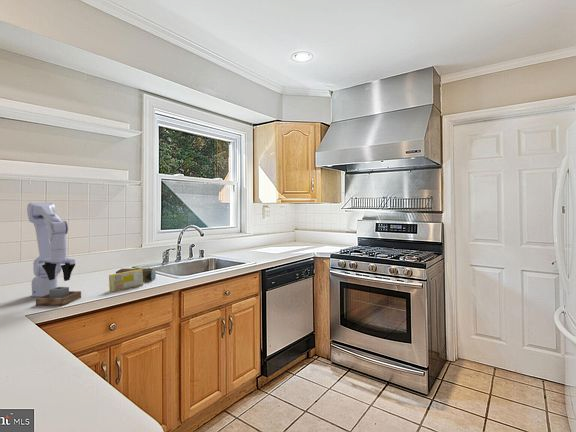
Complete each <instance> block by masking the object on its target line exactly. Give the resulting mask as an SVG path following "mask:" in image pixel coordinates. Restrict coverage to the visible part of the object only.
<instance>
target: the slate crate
mask: <svg viewBox="0 0 576 432" xmlns="http://www.w3.org/2000/svg"><path fill="white" fill-rule="evenodd" d="M69 291H70V287H69V286H58V287H56V288H53V289H50V290H49V298H64V297H67V296H69Z"/></svg>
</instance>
